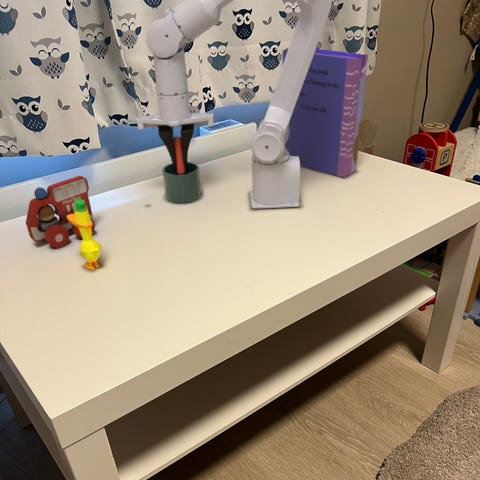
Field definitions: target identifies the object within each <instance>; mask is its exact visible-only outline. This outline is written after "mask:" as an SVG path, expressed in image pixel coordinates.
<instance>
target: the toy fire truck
mask: <svg viewBox="0 0 480 480" xmlns="http://www.w3.org/2000/svg"><path fill="white" fill-rule="evenodd" d="M89 189H90V187H89V182H88V179H87V177H84V176H82V175H77V176H74V177H70V178H68V179H64V180H61V181H59V182H56V183H53V184H49V185H48V186H47V188H46V189H45V188H43V187H37V188H36V189H34V197H33V198H31V200H30V201H29V204H28V209H27V214H26V218H25V225H26V229H27V232H28V235H29V237H30V239H31V240H32V241H33V242H36V243H38V242H41V241H44V240H45V241H46V243H47V244H48V245H49V246H51V247H52V248H56V249H57V248H62V247H65V245H67V243H68V242H69V239H70V233H69V231H72V233H73V234H74V235H75V236H76V237H77V238H79V239H83V238H82V235H81V233H80V230H79V228H78V227H77V226H75V225H73V224H71V223H70V222H69V221H68V219H67V215H70V214H75V213H74V209H73V207H74V206H75V203H74V202H75V201H76V200H79V199H81V200H84V201H85V205H86V206H87V209H88V213H89V217H90V219H91V221H92V224H93V225H92V227H91V230H92V235H93V234H94V233H95V229H96V225H95V222H94V220H93V219H94V216H93V211H92V207H91V201H90V198H89Z"/></svg>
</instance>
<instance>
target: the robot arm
mask: <svg viewBox="0 0 480 480" xmlns="http://www.w3.org/2000/svg"><path fill="white" fill-rule="evenodd" d="M233 1H234V0H182V1H181V2H180V3H178V4H177V5H176V6H175V7H174V8H173V9H172V8H171V7H169V8H167V9H166V10H165V11H164V15H165V17H163V18H160V19H156V20H154V21H153V22H152V24H151V25H150V26H149V27H148V29H147V31H146V34H145V35H146V37H145V39H146V40H145V41H146V45H147V47H148V49H149V50H150V53H152V58H153V68H154V69H153V70H154V76H155V78H154V79H155V85H156V93H157V101H158V109H159V113H156V114H149V115H139V116H137V118H136V122H137V129H138V130H145V129H155V128H156V129H157V128H158V131H157V133H158V136H159V138H160V140H161V141H162V143H163V144H164V146H165V148H166V150H167V153H168V155H169V157H170V160H171V164H173V165H176V156H175V147H174V137H175V136H174V128H180V127H181V128H180V137H181V139H182V147H183V164H184V165H187V162H189V161H188V157H189V154H188V153H189V149H190V145H191V141H192V139H193V136H194V132H195V127H206V126H207V127H210V128H211V127H214V123H215V122H214V113H213V112H211V113H209V112H207V113H205V112H192V111H191V109H190V98H189V89H188V88H189V87H188V77H187V76H188V75H187V65H186V58H185V56H186V55H185V47H186V46H187V44H190V43H192V42H193V41H194V40H196V39H197V38H198V37H200V36H201V35H203V34H204V33H205V32H207V31H209V30H210V29H211V28H212V27H214V26H216V24H218V23H219V22H220V19H221V12H222V9H223V8H225V7H226V6H227V5H229V4H230V3H232V2H233ZM295 2H296V3H297V6H298V8H299V10H300V12H299V16H298V19H297V22H296V24H295V28H294V31H293V34H292V37H291V39H290V42H289V45H288V47H287V48H288V51H287V54H286V57H285V60H284V63H283V62H282V64H283V66H282V67H281V69H280V72H279V76H278V79H277V81H276V84H275V87H274V90H273V93H272V95H271V99H270V102H269V105H268V108H267V110H266V113H265V116H264V118H263V119H262V120H261V121H260V122H259V124H258V127H257V130H256V132H255V134H253V136H252V137H251V139H250V144H249V146H250V151H251V171H252V172H251V173H252V190H250V191H249V195H250V196H249V197H250V204H251V209H254V210H257V209H259V210H260V209H278V208H280V209H281V208H282V209H283V208H299V207H300V194H301V167H300V161H299V157H298V156H290V155H289V152H288V151H287V149H286V147H285V144H286V142H287V140H288V138H289V134H290V130H289V121H290V118H291V116H292V113H293V110H294V107H295V105H296V102H297V99H298V96H299V94H300V91H301V88H302V86H303V83H304V80H305V77H306V75H307V72H308V69H309V67H310V64H311V61H312V58H313V56H314V53H315V50H316V49H318V45H319V42H320V39H321V38H322V37H321V36H322V34H323V31H324V29H325V26H326V23H327V20H328V18H329V15H330V12H331V9H332V5H333V1H332V0H295Z"/></svg>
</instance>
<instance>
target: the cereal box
mask: <svg viewBox="0 0 480 480" xmlns="http://www.w3.org/2000/svg"><path fill="white" fill-rule="evenodd" d="M288 48H289V47H287V48H285V49H283V50H282V66H283V63H284V60H285V57H286V54H287V51H288ZM368 60H369V54H364V53H356V52H348V51H347V52H346V51H338V50H331V49H329V50H328V49H321V48H316V50H315V53H314V56H313V58H312V61H311V64H310V67H309V69H308V72H307V75H306V77H305V80H304V83H303V86H302V88H301V91H300V94H299V96H298V99H297V102H296V105H295V107H294V110H293V113H292V116H291V118H290V121H289V130H290V134H289V138H288V140H287V142H286V144H285V147H286V149H287V151H288V152H289V155H290V156H298V157H299V161H300V168H305V169H308V170H312V171H316V172H320V173H324V174H327V175H330V176H335V177H338V178H342V179H346V178H348V177H350V176H351V175H353V174H354V173H356V172H357V165H358V156H359V155H358V154H359V147H360V146H359V145H360V137H361V125H362V117H363V108H364V100H365V99H364V98H365V88H366V79H367V78H366V77H367V70H368Z"/></svg>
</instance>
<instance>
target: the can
mask: <svg viewBox="0 0 480 480" xmlns="http://www.w3.org/2000/svg"><path fill="white" fill-rule="evenodd" d="M184 166H185V173H182V174H179V173H177V166H176V165H173V164H172V163H168V164H167V165H165V166H163V168H162V180H163V186H164V194H165V195H164V196H165V199H166V200H167V201H168V202H169V203H173V204H181V205H182V204H190V203H194V202H196V201H198V200H199V199H200V198H201V197H202V186H201V174H200V166H199V165H198V164H197V163H195V162H190V161H188V162H187V165H184Z"/></svg>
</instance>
